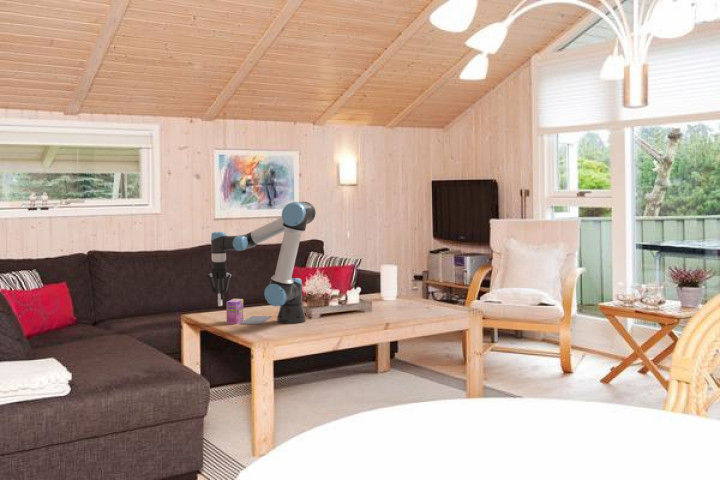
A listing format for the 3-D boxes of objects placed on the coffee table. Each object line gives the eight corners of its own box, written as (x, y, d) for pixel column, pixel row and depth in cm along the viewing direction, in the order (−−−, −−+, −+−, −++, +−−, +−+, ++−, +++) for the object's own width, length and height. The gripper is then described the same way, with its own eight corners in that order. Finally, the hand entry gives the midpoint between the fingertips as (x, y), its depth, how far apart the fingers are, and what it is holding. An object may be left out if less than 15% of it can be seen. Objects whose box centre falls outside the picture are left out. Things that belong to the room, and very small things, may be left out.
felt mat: (271, 316, 404) (271, 316, 404) (259, 324, 380) (259, 323, 380) (252, 316, 405) (252, 315, 405) (239, 324, 382) (239, 323, 382)
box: (236, 324, 382) (236, 301, 382) (226, 324, 384) (225, 301, 383) (243, 320, 393) (243, 298, 392) (233, 320, 394) (233, 298, 393)
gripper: (233, 260, 390) (234, 304, 391) (209, 260, 392) (210, 304, 393) (228, 261, 382) (229, 306, 384) (204, 261, 384) (205, 306, 386)
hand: (220, 305), depth 389 cm, fingers closed
